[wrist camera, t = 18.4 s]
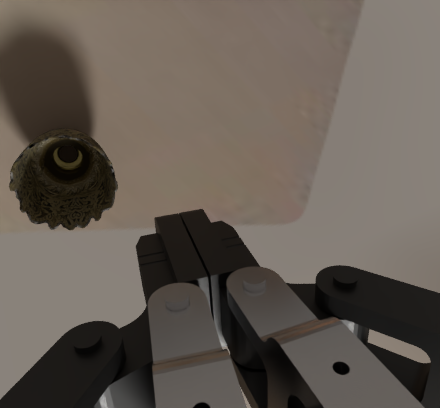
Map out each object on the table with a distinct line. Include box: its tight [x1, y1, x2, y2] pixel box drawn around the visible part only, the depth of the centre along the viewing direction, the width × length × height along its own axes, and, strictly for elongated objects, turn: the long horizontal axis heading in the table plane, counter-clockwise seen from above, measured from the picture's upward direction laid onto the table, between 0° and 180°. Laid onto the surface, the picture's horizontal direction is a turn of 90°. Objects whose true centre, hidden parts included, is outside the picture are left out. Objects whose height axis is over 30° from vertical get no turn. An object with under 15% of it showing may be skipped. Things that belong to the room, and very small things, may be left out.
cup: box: [9, 129, 118, 230], centre depth 34 cm, size 8×7×8 cm
